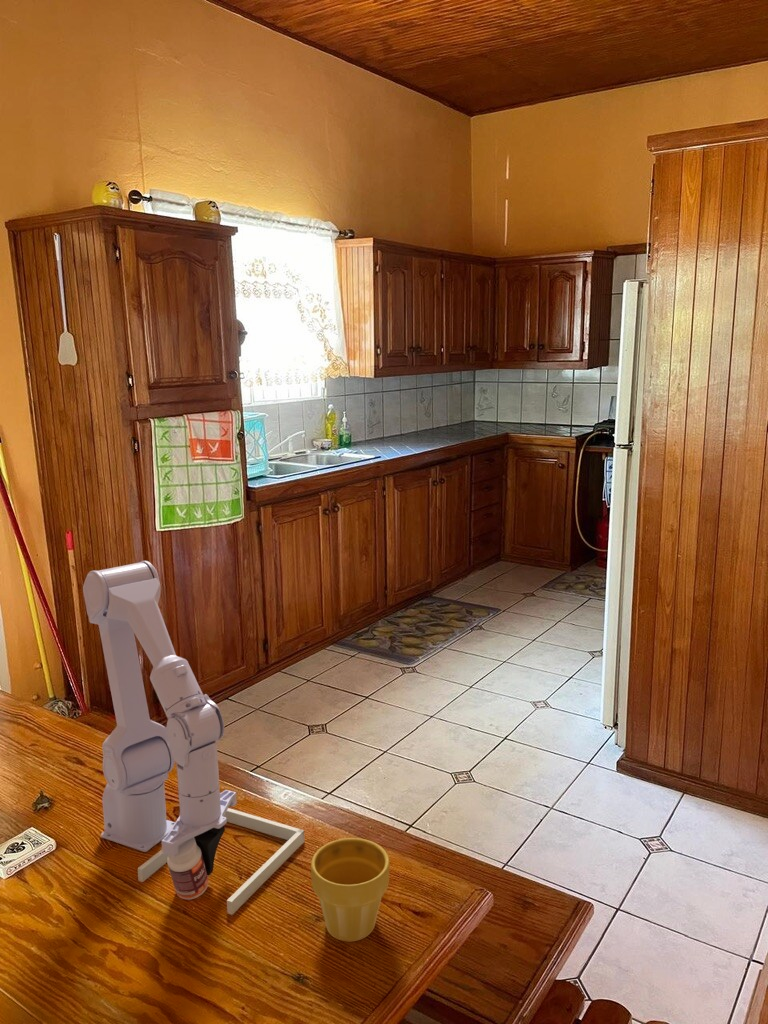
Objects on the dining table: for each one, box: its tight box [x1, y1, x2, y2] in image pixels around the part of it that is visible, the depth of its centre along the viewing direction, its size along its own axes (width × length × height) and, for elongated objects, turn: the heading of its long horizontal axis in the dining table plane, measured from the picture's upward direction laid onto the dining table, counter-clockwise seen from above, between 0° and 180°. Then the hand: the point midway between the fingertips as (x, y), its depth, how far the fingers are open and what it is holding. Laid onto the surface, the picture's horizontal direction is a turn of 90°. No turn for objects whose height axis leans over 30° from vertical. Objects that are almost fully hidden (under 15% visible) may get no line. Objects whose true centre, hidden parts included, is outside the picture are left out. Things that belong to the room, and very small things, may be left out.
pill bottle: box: [167, 837, 210, 901], centre depth 113 cm, size 5×5×8 cm
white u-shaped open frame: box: [137, 807, 305, 916], centre depth 121 cm, size 17×19×2 cm
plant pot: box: [310, 837, 390, 943], centre depth 106 cm, size 10×10×10 cm
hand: (204, 872), depth 116 cm, fingers closed, pressing on pill bottle
